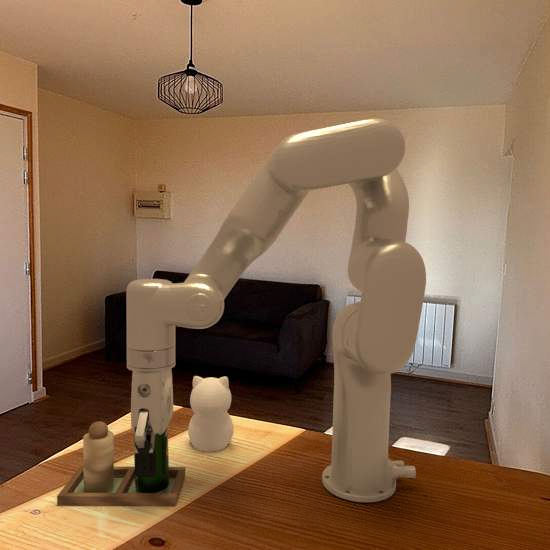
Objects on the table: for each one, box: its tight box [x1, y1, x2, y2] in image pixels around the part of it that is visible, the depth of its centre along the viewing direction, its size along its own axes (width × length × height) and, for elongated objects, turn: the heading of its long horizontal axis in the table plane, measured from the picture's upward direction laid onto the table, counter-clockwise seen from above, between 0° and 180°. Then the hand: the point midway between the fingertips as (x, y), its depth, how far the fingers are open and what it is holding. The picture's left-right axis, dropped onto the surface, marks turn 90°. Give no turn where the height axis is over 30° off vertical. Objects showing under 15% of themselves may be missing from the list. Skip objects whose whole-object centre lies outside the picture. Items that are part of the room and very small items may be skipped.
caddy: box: [56, 465, 186, 508], centre depth 80 cm, size 18×10×2 cm, turn 91°
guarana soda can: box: [133, 425, 170, 493], centre depth 80 cm, size 5×5×12 cm
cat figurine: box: [187, 375, 234, 453], centre depth 99 cm, size 9×12×15 cm
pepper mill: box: [82, 421, 115, 493], centre depth 79 cm, size 5×5×11 cm
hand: (151, 463), depth 80 cm, fingers open, 7 cm apart
